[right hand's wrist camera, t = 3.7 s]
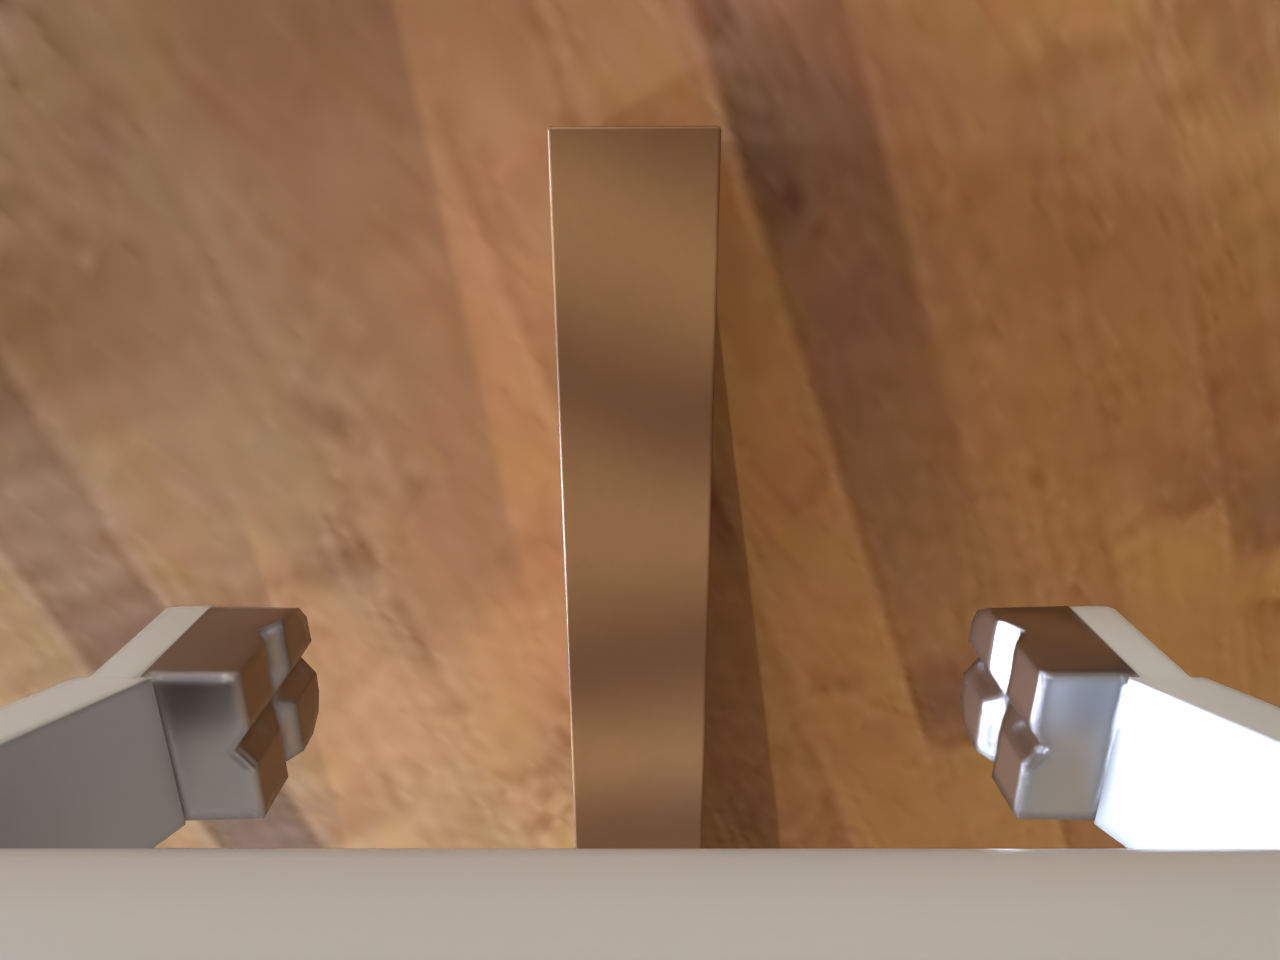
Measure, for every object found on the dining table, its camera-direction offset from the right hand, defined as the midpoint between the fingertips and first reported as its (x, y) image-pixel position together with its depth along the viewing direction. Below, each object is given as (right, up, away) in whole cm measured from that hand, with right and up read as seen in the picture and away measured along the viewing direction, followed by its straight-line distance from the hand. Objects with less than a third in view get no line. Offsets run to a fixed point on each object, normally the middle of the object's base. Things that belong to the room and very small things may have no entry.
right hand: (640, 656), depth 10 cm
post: (0, -18, +32) cm, 36 cm away
